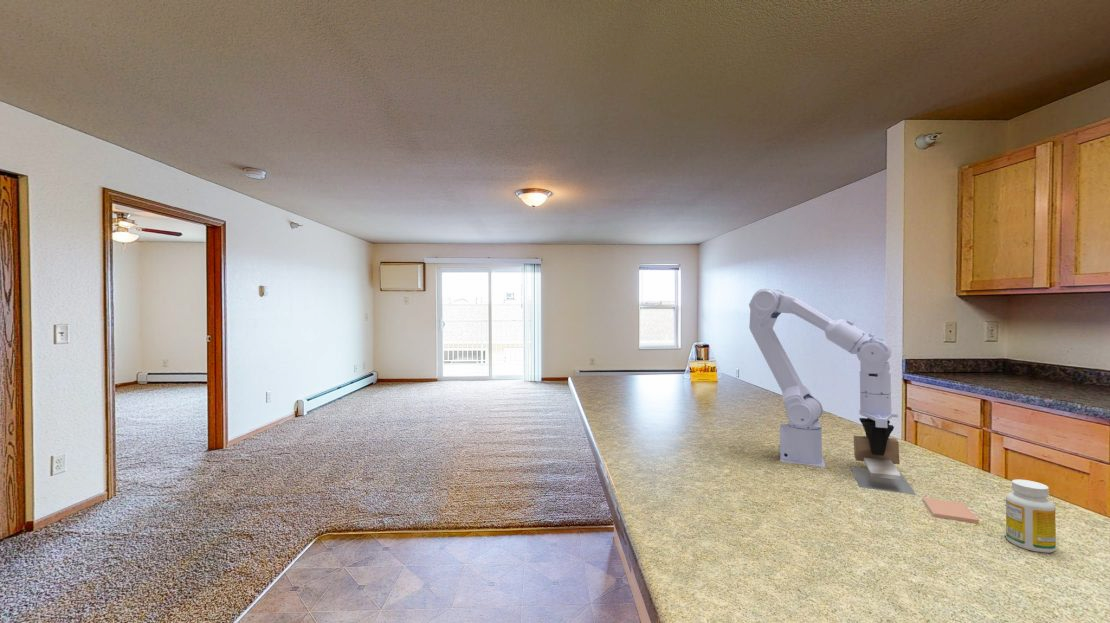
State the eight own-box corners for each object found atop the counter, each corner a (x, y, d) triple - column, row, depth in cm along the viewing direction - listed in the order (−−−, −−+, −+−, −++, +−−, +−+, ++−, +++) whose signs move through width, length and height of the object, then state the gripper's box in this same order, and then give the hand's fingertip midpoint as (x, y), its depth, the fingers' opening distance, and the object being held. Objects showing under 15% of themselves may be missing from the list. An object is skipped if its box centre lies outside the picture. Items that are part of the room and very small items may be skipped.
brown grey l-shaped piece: (862, 475, 93) (861, 451, 93) (854, 457, 104) (853, 435, 104) (910, 480, 90) (909, 455, 90) (897, 460, 101) (896, 438, 100)
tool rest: (858, 489, 93) (858, 486, 93) (850, 469, 105) (850, 466, 105) (916, 497, 89) (916, 494, 89) (901, 475, 101) (901, 473, 101)
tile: (922, 505, 86) (933, 522, 79) (922, 496, 86) (933, 513, 79) (963, 511, 83) (979, 530, 76) (963, 502, 83) (978, 520, 76)
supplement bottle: (1004, 544, 71) (1002, 483, 71) (1008, 533, 74) (1007, 475, 74) (1055, 558, 67) (1053, 493, 67) (1057, 545, 70) (1056, 484, 70)
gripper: (904, 399, 93) (906, 464, 93) (890, 388, 106) (891, 446, 106) (863, 396, 96) (865, 460, 96) (854, 387, 109) (856, 442, 109)
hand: (876, 452), depth 101 cm, fingers closed on brown grey l-shaped piece, 2 cm apart
